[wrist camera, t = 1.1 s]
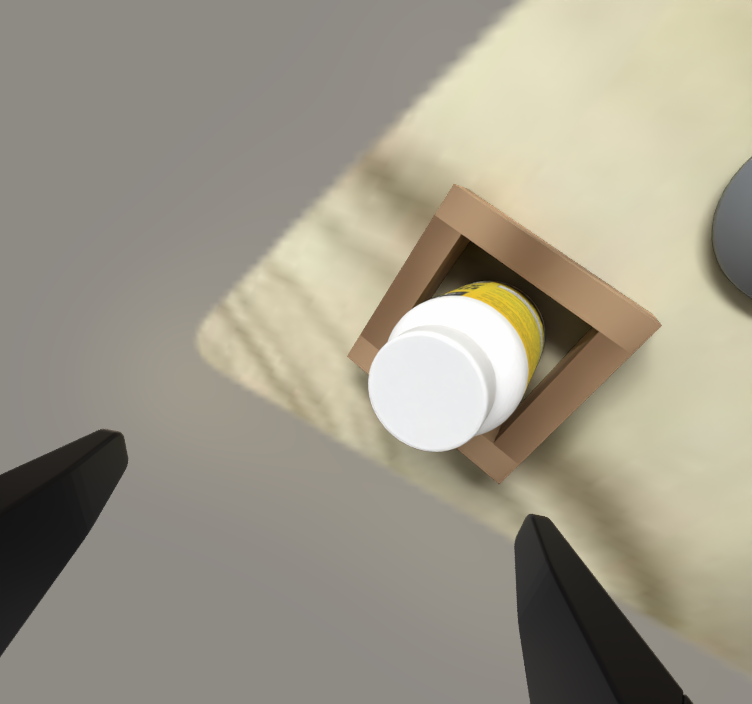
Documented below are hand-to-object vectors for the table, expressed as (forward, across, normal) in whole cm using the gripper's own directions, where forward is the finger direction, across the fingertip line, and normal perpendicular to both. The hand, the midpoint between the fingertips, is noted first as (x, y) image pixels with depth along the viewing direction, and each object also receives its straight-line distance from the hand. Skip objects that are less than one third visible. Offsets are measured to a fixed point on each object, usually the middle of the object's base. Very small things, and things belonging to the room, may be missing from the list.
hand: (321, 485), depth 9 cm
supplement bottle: (+14, -6, +2) cm, 15 cm away
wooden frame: (+13, -6, +2) cm, 15 cm away
